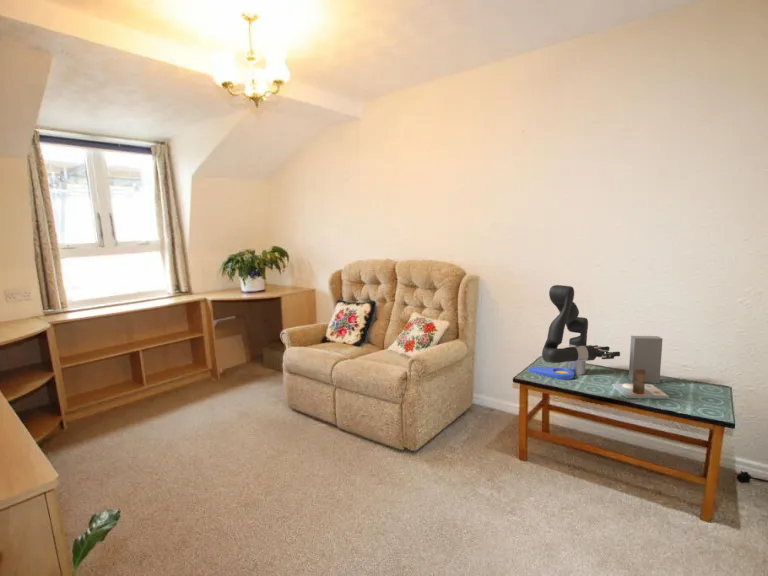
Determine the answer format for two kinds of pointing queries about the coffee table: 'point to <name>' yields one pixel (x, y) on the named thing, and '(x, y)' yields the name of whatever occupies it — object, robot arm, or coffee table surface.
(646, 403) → the coffee table surface
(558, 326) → the robot arm
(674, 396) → the coffee table surface
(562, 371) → the location marker
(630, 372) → the tall grey upright box
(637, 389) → the brown upright cylinder
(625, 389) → the board
